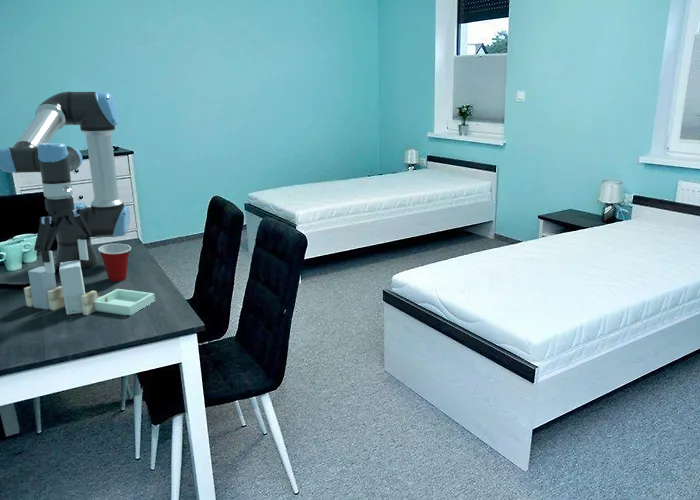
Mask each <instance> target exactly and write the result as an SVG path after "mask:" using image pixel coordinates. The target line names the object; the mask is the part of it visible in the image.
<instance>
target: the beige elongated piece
mask: <svg viewBox="0 0 700 500" xmlns="http://www.w3.org/2000/svg"><path fill="white" fill-rule="evenodd" d="M23 292H24V297H25V298H24V299H25V303H26V307H30V308H32V307H34V305H33V299H32V293H31V287H30V285H29V286H26V287H23ZM47 294H48V300H49V307H50V308H49V310H51V311H55V310H57V309H59V308H61V307H65V302H64V297H63V291H62V285H58V286H57V288H54V289H52V290H50V291H47ZM100 297H102V295H101V296H100V294H99V293H98V292H97V290H91V291H88V292H85V294H84V295H82V296H81V302H82V309H83V313H82V315H84V316H88V315H91V314H92V313H94V312H96V311H95V304H94V302H95V301H98V298H100ZM105 302H108V298H107V297H106V298H105Z"/></svg>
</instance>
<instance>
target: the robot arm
mask: <svg viewBox="0 0 700 500" xmlns="http://www.w3.org/2000/svg"><path fill="white" fill-rule="evenodd" d="M34 115H35V116H34V118H33V119H32V120H31V122H30V123H29V124H28V126H27V127H26V129H25V130H24V131H23V133H21V135H20V136H19V138H18V140H16V142H15V144H14V145H13V146H12V147H10V146H7V147H1V148H0V170H1V171H2V172H5V173H15V174H18V173H19V174H20V173H21V174H23V173H40V177H41V182H42V183H41V184H42V191H43V197H44V198H45V199H44V205H45V210H46V212H48V216H40V217H39V227H38V231H37V235H36V239H35V243H34V249H33V250H34V251H37V252H41V259H42V262H43V263H44V267H45V271H46V272H47V273H56V268H57V267H59V268H60V266H59V265H60V263H61V262H69V261H76V260H80V264H81V269H84V268H89V267H92V266H94V265H96V264H97V263H98V262H99V256H98V254H97V253H96V251H95V249H94V247H93V244H92V240H91V238H116V237H117V238H118V237H124V236H125V235H126V234H127V233H128V231H129V228H130V223H131V211H130V208H129V206H127V205H125V202H124V200H123V199H122V198H120V197H119V188H118V181H117V180H118V179H117V170H116V163H115V156H114V148H113V145H114V144H113V140H112V139H113V138H112V134H113V133H114V132H115V130H116V126H118V125H119V123H120V113H119V109H118V105H117V102H116V100H115V98H114V97H113V95H112V94H111V93H109V92H105V91H104V92H103V91H64V92H59V93H56V94H53V95H52V96H50V97H48V98H46V99H44V100H43V101H42V102H41V103H40V104H39V105H38V107H37V108H36V109H35V114H34ZM64 126H79V127H80V128H79V129H80V132H81V133H83V134H84V135H85V138H86V148H87V153H88V155H87V156H88V160H89V161H88V162H89V168H90V169H89V170H90V174H91V175H90V176H91V184H92V191H93V197H94V199H93V200H92V201H91V203H90V206H88V205H87V204H86V203H85V202H77V203H76V202H74V197H73V196H72V195H73V188H72V186H73V185H72V179H71V172H74V171H76V170H77V169H78V168H80V167H81V165H82V163H83V155H82V153H81V151H80V150H79V149H77V148H76V147H74V146H72V145H70V146H69V145H68V146H67V145H66V144H65V143H64V142H51V140H52V138H53V137H54V136H55V134H56V133H57V132H58V130H60V129H62V128H63V127H64ZM55 240H56V241H57V250H56V255H55V258H54V255H53V254H54V253H53V251H52V250H51V248H52V245H53V243H54V241H55ZM55 265H56V266H57V267H56V266H55ZM59 268H58V269H59Z"/></svg>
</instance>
